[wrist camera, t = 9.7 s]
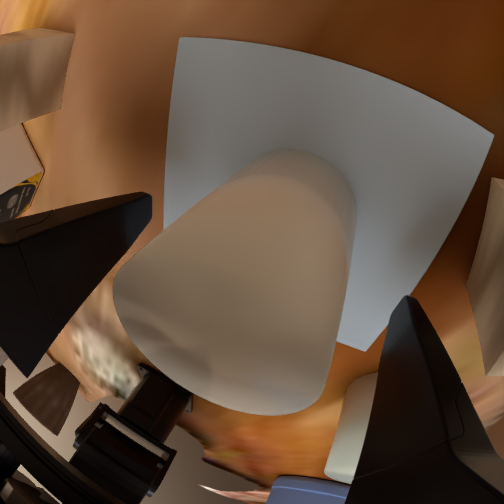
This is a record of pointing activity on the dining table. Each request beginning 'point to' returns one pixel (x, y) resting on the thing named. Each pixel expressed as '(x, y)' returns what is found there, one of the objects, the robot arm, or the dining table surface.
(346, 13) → the dining table surface
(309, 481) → the water jug
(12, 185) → the medicine bottle
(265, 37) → the dining table surface
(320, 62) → the felt mat
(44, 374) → the plant pot
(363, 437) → the pale curved piece
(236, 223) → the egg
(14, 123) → the beech block
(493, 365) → the beech block
